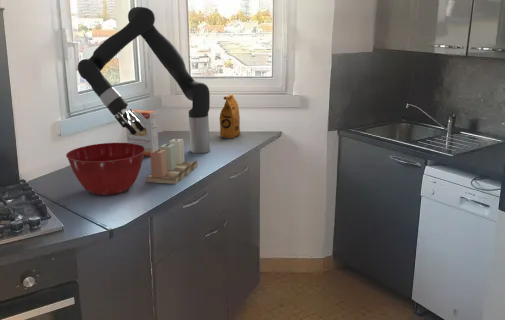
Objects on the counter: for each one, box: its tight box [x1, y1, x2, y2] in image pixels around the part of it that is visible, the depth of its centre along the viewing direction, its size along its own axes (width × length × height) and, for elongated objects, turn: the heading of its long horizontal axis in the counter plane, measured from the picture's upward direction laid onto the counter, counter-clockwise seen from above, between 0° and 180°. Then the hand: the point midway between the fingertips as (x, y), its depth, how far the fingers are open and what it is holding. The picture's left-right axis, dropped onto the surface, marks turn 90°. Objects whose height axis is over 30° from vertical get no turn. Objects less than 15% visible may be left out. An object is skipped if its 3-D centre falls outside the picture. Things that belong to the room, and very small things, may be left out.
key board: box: [146, 159, 198, 185], centre depth 213 cm, size 23×12×3 cm, turn 165°
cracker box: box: [125, 109, 160, 157], centre depth 242 cm, size 14×6×21 cm, turn 68°
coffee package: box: [219, 93, 241, 139], centre depth 274 cm, size 10×12×22 cm
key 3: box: [149, 148, 167, 177], centre depth 203 cm, size 4×4×10 cm
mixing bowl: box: [65, 142, 145, 196], centre depth 194 cm, size 28×28×15 cm
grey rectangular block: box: [168, 138, 186, 164], centre depth 220 cm, size 4×4×10 cm
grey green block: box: [159, 143, 176, 171], centre depth 211 cm, size 4×4×10 cm
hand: (139, 132), depth 211 cm, fingers open, 8 cm apart
